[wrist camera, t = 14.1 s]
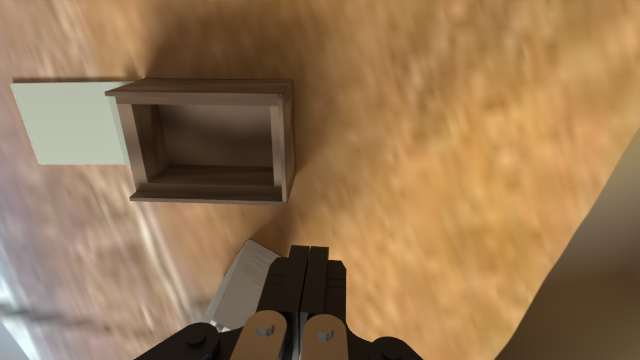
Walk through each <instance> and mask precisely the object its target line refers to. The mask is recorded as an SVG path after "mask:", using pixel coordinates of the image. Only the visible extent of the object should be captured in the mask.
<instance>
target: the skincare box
mask: <svg viewBox="0 0 640 360" xmlns="http://www.w3.org/2000/svg"><path fill="white" fill-rule="evenodd" d="M277 257H281V256H279V255H277V254H276V253H274V252H272V251H270V250H268V249H267V248H265V247H263V246H261V245H260V244H258V243H256V242H254V241H252V240H250V239H248V240H247V241H246V243H245V244H244V246H243V247H242V248H241V250H240V251H239V253H238V254H237V256H236V257H235V259H234V261H233V262H232V264H231V266H230V268H229V269H228V271H227V273H226V275H225V276H224V278H223V279H222V281H221V283H220V285H219V287H218V289H217V291H216V293H215V295H214V297H213V299H212V301H211V303H210V305H209V307H208V309H207V311H206V313H205V315H204V317H203V320H202V322H204V323H209V324H212V325H213V326H215V327H216V328H217V330H218V332H219V333H220V332H225V331H230V330H234V329H237V328H240V327H242V326H244V325H245V323H246V321H247V319H248V318H249V317H250V316H252V315H253V314H255V312H256V309H257V306H258V302H259V299H260V296H261V293H262V289H263V286H264V284H265V279H266V276H267V273H268V270H269V266H270V264H271V263H272V262H273V261H274V260H275V259H276V258H277Z"/></svg>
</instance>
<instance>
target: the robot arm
mask: <svg viewBox="0 0 640 360" xmlns="http://www.w3.org/2000/svg"><path fill="white" fill-rule="evenodd" d="M328 258H329V247H317V246H311V248H310V246H299V245H292V246H291V249H290V253H289V257H288V258H287V257H277V258H276V259H275V260H274V261H273V262H272V263H271V264H270V266H269V270H268V273H267V276H266V279H265V284H264V286H263V289H262V293H261V296H260V299H259V302H258V306H257V309H256V312H255V314H253V315H252V316H250V317H249V318H248V319H247V321H246V323H245V325H244V326H242V327H240V328H237V329H234V330H230V331H225V332H220V333H219V332H218V330H217V328H216V327H215V326H213V325H212V324H209V323H204V322H200V323H194V324H191V325H189V326H187V327H185V328H183V329H182V330H180V331H178V332H177V333H175V334H174V335H172V336H171V337H169V338H167V339H166V340H164V341H163V342H161V343H159V344H158V345H156V346H155V347H153V348H151V349H150V350H148V351H147V352H145V353H144V354H142V355H140V356H139V357H137V358H136V359H134V360H299V356H300V360H423V359H422V358H421V357H420V356H419V355H418V354H417V353H416V352H415V351H414V350H413V349H412V348H411V347H410V346H408V345H407V344H406V343H405V342H404V341H402V340H400V339H398V338H395V337H381V338H378V339H376V340H375V341H373V342H369V341H367V340H364V339H361V338H359V337H358V336H356V335H355V334H353V333H352V332H351V331H350V329H349V328H348V326H347V323H346V268H345V266H344V265H343V263H342V261H337V260H328Z"/></svg>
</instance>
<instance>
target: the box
mask: <svg viewBox="0 0 640 360" xmlns="http://www.w3.org/2000/svg"><path fill="white" fill-rule="evenodd" d="M104 93H105V96H115V99H116V104H117V108H118V112H119V117H120V121H121V126H122V130H123V134H124V139H125V143H126V148H127V152H128V157H129V161H130V165H131V170H132V174H133V179H134V183H135V187H136V192H135V193H134V194H133V195H132V196H131V197H129V198H130V201H147V202H182V203H218V204H253V205H287V203H288V199H289V196H290V193H291V189H292V186H293V182H294V179H295V142H294V108H293V80H258V79H160V78H144V79H141V80H138V81H135V82H132V83H129V84H126V85H123V86H120V87H117V88H114V89H111V90H108V91H105V92H104Z"/></svg>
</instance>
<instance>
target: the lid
mask: <svg viewBox="0 0 640 360" xmlns="http://www.w3.org/2000/svg"><path fill="white" fill-rule="evenodd" d="M132 82H135V81H108V82H34V83H10V85H11V88H12V91H13V94H14V97H15V99H16V102H17V105H18V108H19V110H20V113H21V116H22V119H23V121H24V124H25V127H26V130H27V133H28V135H29V138H30V141H31V144H32V146H33V149H34V152H35V155H36V157H37V160H38V163H39V164H125V165H130V161H129V157H128V152H127V148H126V143H125V139H124V134H123V130H122V126H121V121H120V117H119V112H118V108H117V104H116V99H115V96H105V93H104V92H105V91H108V90H111V89H114V88H117V87H120V86H123V85H126V84H129V83H132Z"/></svg>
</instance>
